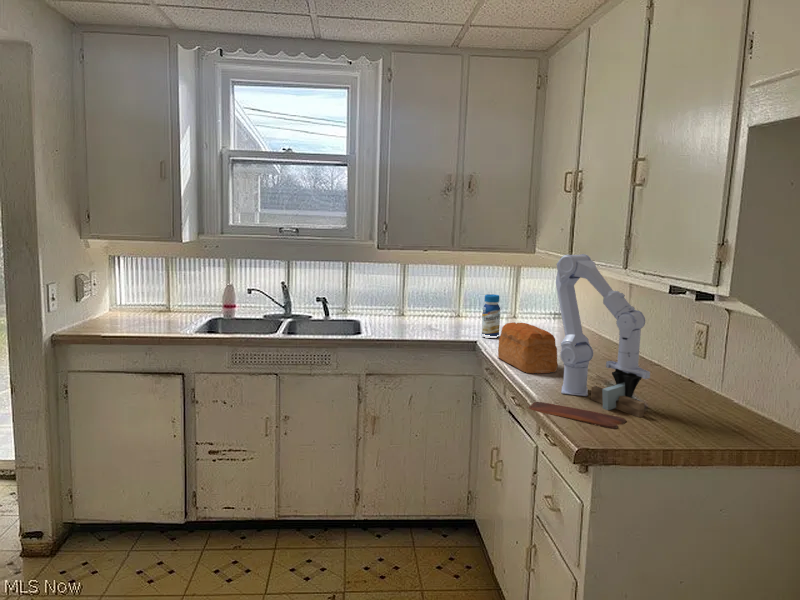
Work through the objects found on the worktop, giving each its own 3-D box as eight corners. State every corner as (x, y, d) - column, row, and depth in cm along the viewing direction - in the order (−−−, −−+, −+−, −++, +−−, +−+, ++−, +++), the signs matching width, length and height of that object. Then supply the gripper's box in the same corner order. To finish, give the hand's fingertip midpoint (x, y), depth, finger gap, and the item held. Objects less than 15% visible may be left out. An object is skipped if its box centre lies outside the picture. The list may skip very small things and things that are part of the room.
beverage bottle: (499, 336, 277) (501, 294, 275) (499, 339, 269) (501, 296, 266) (481, 335, 279) (483, 293, 276) (480, 338, 271) (482, 295, 268)
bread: (526, 356, 237) (528, 319, 235) (560, 373, 212) (562, 332, 210) (494, 357, 234) (496, 320, 232) (525, 374, 208) (527, 333, 206)
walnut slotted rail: (590, 399, 180) (591, 386, 180) (595, 398, 181) (596, 386, 181) (638, 417, 165) (639, 403, 164) (643, 416, 165) (644, 402, 165)
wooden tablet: (627, 422, 162) (627, 416, 162) (615, 432, 154) (616, 426, 154) (537, 402, 178) (538, 397, 178) (523, 410, 170) (523, 404, 170)
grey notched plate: (608, 410, 170) (607, 390, 169) (602, 408, 172) (602, 389, 171) (632, 402, 174) (632, 383, 173) (626, 400, 176) (626, 381, 175)
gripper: (658, 355, 168) (655, 401, 170) (618, 345, 181) (615, 388, 182) (641, 358, 165) (638, 404, 166) (602, 347, 177) (599, 391, 179)
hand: (625, 396), depth 174 cm, fingers closed on grey notched plate, 2 cm apart
